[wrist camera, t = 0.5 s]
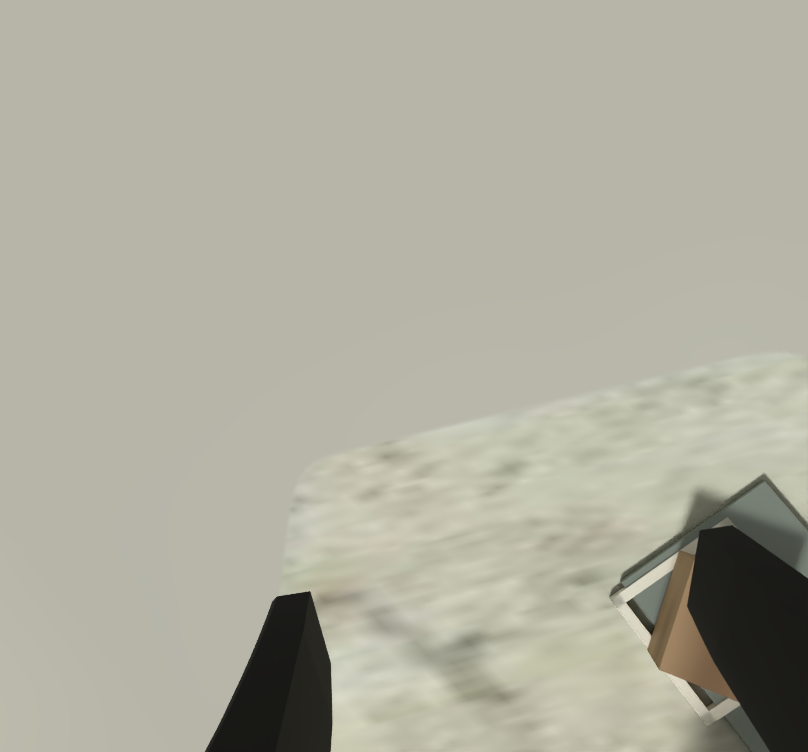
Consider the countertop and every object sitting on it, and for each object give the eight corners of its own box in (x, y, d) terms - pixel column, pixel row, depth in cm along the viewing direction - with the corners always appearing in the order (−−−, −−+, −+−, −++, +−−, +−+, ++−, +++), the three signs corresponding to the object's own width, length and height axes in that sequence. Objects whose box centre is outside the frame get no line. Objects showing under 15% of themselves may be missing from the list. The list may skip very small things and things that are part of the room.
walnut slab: (790, 590, 33) (817, 605, 30) (757, 694, 32) (781, 720, 29) (679, 549, 34) (694, 559, 31) (647, 649, 34) (659, 669, 31)
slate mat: (965, 715, 31) (972, 720, 30) (786, 829, 32) (790, 836, 31) (762, 480, 34) (765, 481, 33) (604, 591, 35) (605, 593, 34)
